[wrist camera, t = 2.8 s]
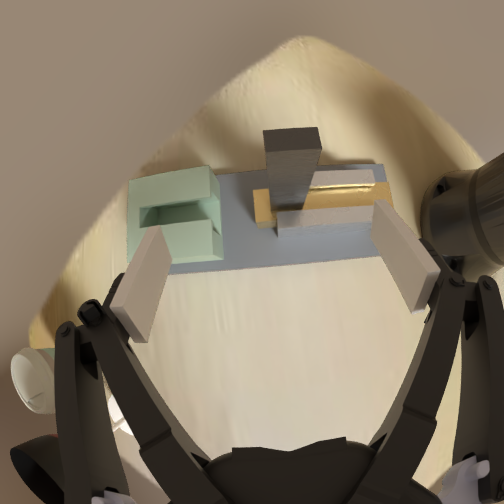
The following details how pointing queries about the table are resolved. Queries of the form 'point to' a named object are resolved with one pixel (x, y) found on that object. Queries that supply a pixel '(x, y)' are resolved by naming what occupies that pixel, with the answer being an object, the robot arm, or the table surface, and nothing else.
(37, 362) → the coffee cup
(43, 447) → the wineglass
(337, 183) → the steel sleeve
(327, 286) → the table surface
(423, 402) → the robot arm
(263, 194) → the sliding bolt with handle
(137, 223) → the socket block
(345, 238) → the base board
